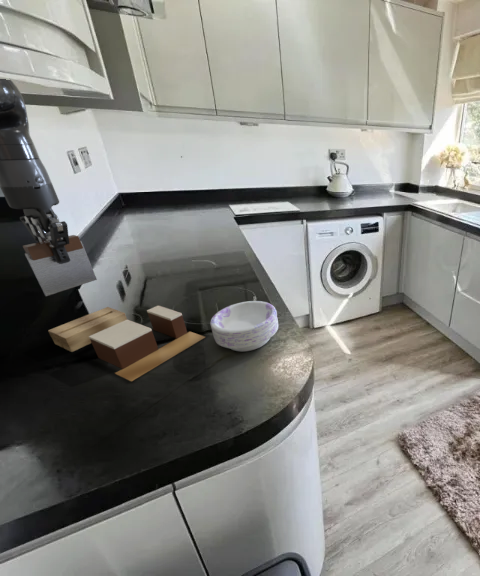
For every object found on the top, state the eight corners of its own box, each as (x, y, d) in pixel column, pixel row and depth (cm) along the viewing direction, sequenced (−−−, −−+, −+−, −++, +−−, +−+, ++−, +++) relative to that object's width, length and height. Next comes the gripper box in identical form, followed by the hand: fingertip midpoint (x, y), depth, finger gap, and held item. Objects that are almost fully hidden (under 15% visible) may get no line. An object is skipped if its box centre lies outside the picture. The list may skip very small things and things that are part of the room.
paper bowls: (218, 331, 86) (212, 305, 83) (277, 320, 92) (273, 296, 88) (214, 365, 74) (207, 337, 70) (283, 351, 79) (279, 324, 76)
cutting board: (78, 358, 75) (77, 355, 75) (155, 321, 90) (154, 318, 89) (132, 385, 68) (131, 381, 67) (206, 340, 83) (205, 336, 82)
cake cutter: (48, 297, 72) (24, 247, 67) (43, 295, 72) (19, 246, 67) (99, 280, 80) (81, 235, 75) (94, 278, 81) (76, 234, 76)
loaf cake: (98, 358, 74) (88, 336, 71) (134, 339, 80) (127, 319, 78) (122, 369, 71) (113, 347, 68) (158, 349, 77) (151, 328, 75)
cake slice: (153, 330, 84) (146, 310, 82) (164, 324, 87) (158, 305, 84) (176, 339, 81) (170, 318, 79) (187, 332, 84) (181, 313, 81)
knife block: (73, 355, 76) (65, 338, 74) (56, 347, 79) (47, 330, 76) (131, 328, 87) (124, 312, 84) (114, 322, 89) (107, 306, 87)
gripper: (-17, 182, 65) (23, 262, 73) (18, 187, 60) (57, 273, 68) (32, 178, 71) (64, 252, 79) (67, 183, 66) (98, 261, 74)
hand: (61, 261), depth 73 cm, fingers closed on cake cutter, 2 cm apart
